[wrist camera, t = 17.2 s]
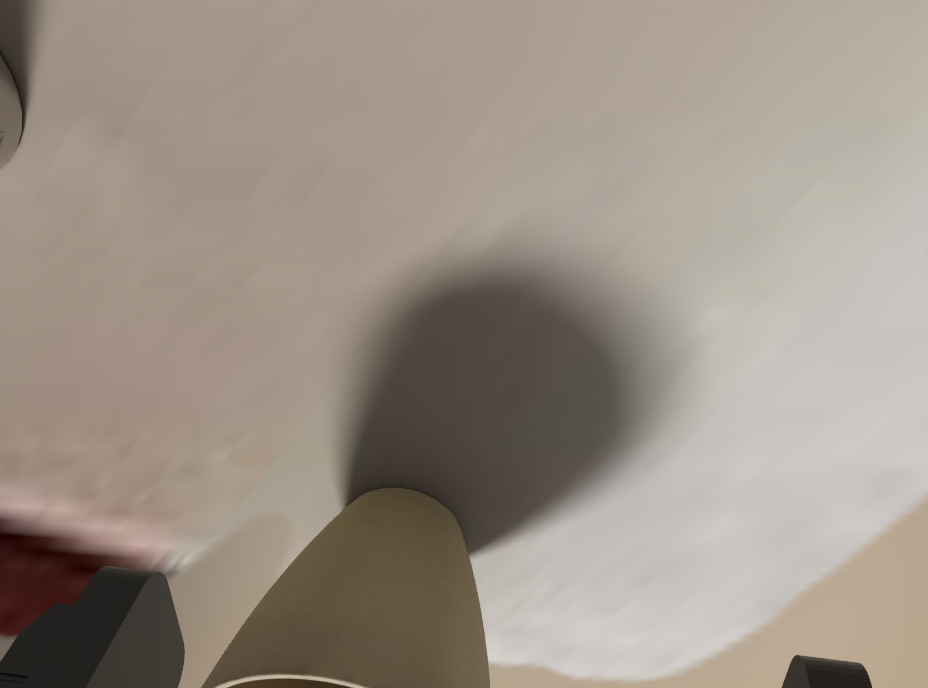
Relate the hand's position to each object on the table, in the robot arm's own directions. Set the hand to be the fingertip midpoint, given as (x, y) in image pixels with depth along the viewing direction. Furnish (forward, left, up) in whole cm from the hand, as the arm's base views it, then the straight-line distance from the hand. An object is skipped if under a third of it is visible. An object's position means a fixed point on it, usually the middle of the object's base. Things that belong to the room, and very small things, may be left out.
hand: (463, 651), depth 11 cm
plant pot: (-8, -30, -30) cm, 43 cm away
